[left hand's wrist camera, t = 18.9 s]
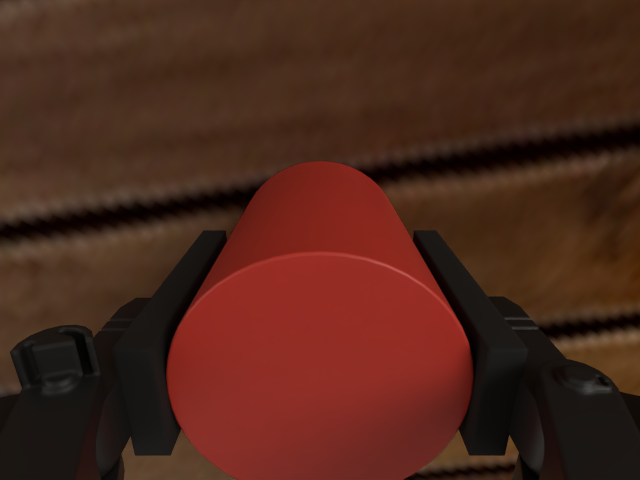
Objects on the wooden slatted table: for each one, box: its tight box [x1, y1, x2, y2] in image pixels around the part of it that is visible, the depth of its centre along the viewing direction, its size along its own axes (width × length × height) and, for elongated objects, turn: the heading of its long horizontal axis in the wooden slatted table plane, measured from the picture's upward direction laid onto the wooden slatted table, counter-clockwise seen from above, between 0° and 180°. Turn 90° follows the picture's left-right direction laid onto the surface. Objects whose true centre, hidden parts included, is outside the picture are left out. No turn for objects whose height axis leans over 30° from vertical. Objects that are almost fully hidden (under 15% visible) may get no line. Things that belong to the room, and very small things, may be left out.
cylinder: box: [166, 161, 474, 480], centre depth 13 cm, size 6×6×9 cm
